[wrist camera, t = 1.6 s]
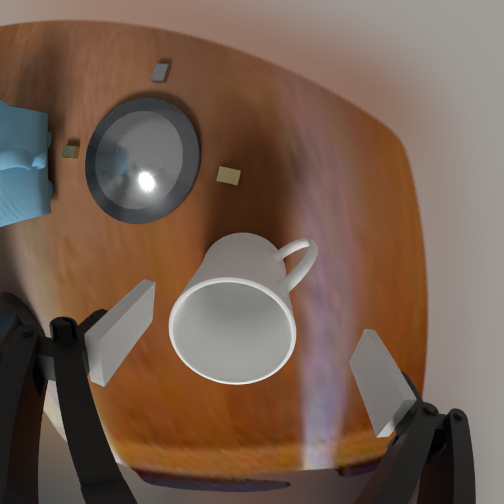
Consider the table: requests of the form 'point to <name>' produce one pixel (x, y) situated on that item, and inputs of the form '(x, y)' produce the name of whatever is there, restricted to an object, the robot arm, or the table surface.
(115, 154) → the socket pad
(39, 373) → the robot arm
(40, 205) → the teapot
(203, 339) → the mug
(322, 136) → the table surface
